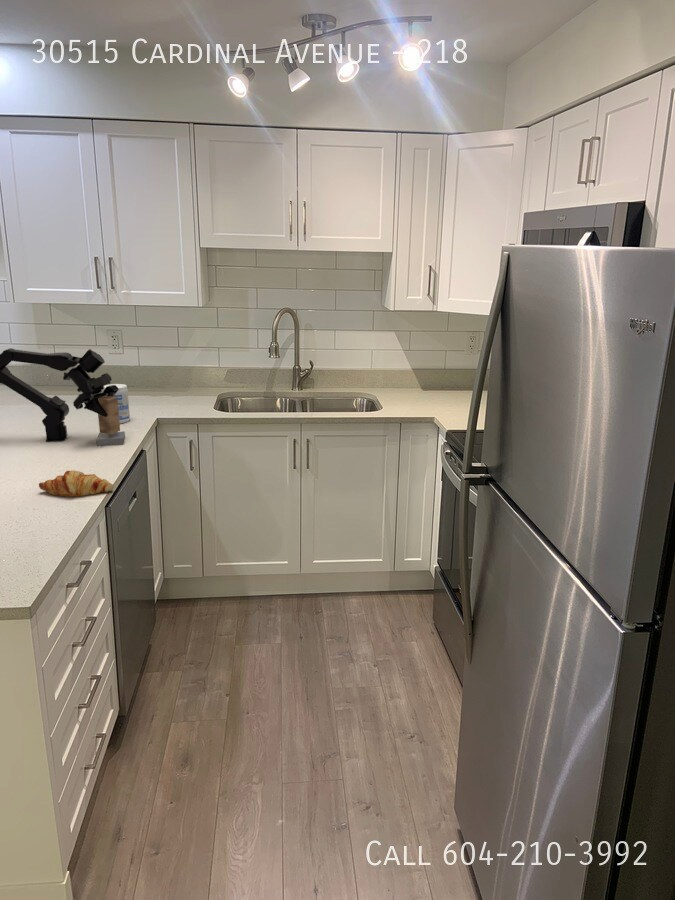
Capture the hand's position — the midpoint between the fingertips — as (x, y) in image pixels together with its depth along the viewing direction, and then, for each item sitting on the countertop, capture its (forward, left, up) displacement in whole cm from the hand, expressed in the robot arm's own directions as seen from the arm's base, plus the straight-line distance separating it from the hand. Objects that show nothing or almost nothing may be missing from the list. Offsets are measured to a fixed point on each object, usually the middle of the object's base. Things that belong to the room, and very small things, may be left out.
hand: (111, 414), depth 234 cm
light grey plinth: (-1, +1, -10) cm, 11 cm away
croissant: (-6, -50, -11) cm, 52 cm away
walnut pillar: (-1, +1, -7) cm, 7 cm away
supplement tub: (-1, +31, -11) cm, 33 cm away
